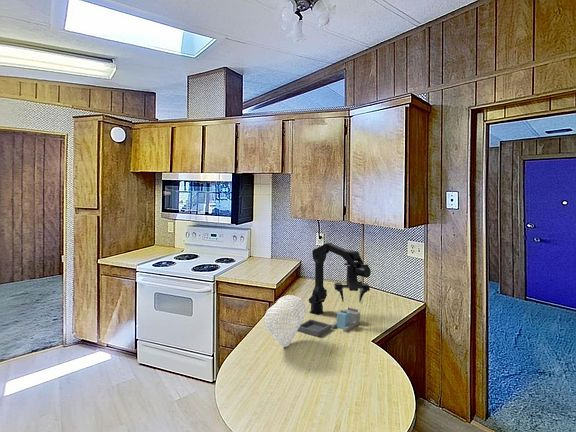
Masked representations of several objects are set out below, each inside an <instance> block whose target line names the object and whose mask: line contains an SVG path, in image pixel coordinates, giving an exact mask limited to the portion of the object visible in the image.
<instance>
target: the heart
mask: <svg viewBox="0 0 576 432" xmlns="http://www.w3.org/2000/svg"><path fill="white" fill-rule="evenodd" d="M306 310H307V309H306V303H305V302H304V301H303V300H302V299H301V298H300V297H298V296H297V295H294V294H293V295H292V294H287V295H284V296H281V297H280V298H278V299H277V301H276V302H275V304H273V305H271V306H270V307H269V308H268V309H267V310H266V312H265V313H264V323H265V327H266V328H267V330H268V332H269V333H270V334H271V335H272V336H273V337H274V338H275V340H276V341H277V342H278V343H279V344H280V345H281V346H282V347H284V348H285V347H288V346H290V344H291V343H292V341H293V339H294V337H295V336H296V334H297V333H298V329H299V327H300V325H301V324H302V323H303V321H304V319H305V317H306Z"/></svg>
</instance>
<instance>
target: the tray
mask: <svg viewBox="0 0 576 432" xmlns="http://www.w3.org/2000/svg"><path fill="white" fill-rule="evenodd" d="M331 330H332V328H331V324H330V323H327V322H326V323H325V322H322V321H318V320H314V319H310V318H309V319H308V320H306V321H304V322H302V323H301V325H300V327H299V329H298V331H297V333H298V332H299V333H302V334H305V335H309V336H313V337H314V338H315V337H316V338H319V337H321V336H323V335H325V334H326V333H327V332H329V331H331Z"/></svg>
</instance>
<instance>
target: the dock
mask: <svg viewBox="0 0 576 432" xmlns="http://www.w3.org/2000/svg"><path fill="white" fill-rule="evenodd" d="M343 310H344V311H348V312H350V324H349V325H348V326H346V327H344V328H343V329H342V331H343V332H344V333H347V332H348V331H349V330H351V329H353V328H354V327H356V326H357V325H359V324H360V321H361V312H359V309H357V308H352V307H347V309H343ZM330 325H331V330H332V329H336V328H337V321H335V322H333V323H332V324H330Z"/></svg>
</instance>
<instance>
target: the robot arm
mask: <svg viewBox="0 0 576 432" xmlns="http://www.w3.org/2000/svg"><path fill="white" fill-rule="evenodd" d="M329 253H334V255H335V254H336V255H337V256H340V257H342V259H343V260H344V261H346V262H345V263H343V265H344V266H346V284H342V282H334V284H333V286H334V287H333V288H334V290H335V291H337V292H339V294H340V298H341V301H342V303H344V290H343V289H348V290H349V291H350V292H353V291H354V292H358V291H359V296H358V301H359V302H358V303H361V301H362V299H363V297H364V294H365V293H368V292H370V290H371V287H370V285H369V284H368V283H363V281H358V277H363V278H366V279H368V278H369V277H370V276H371V274H372V270H371V268H370V267H369V264H368V263H367V264H365V263H364V261H363V259H362V258H361V256H360V252H359V251H357V250H351V249H345V248H343V247H340V246H338V245H335V244H333V243H332V242H326V243H324V244H322V245H321V246H319V247H316V248H313V250H312V252H311V254H312V260H313V261H314V265H315V266H314V268H315V270H314V271H315V273H314V280H315V281H314V282H315V283H314V287H313V289H312V293H311V296H310V297H309V299H308V303H310V311H309V313H310V314H314V315H320V314H323V313H324V309H323V308H324V305H323V303H324V302H325V300H326V299H327V296H328V294H327V293H328V290H327V289H325V287H324V263H325V261H326V258H327V254H329Z"/></svg>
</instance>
